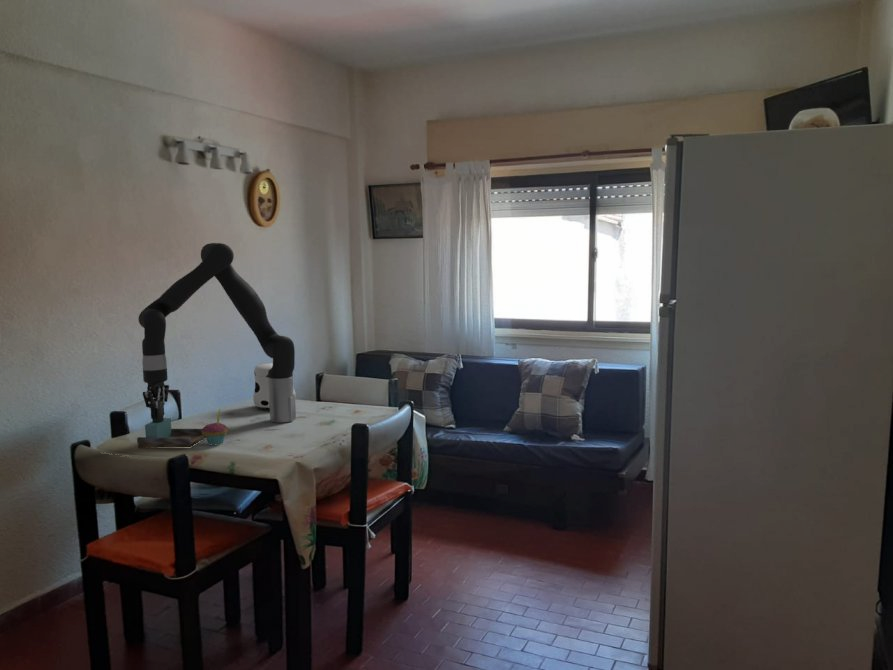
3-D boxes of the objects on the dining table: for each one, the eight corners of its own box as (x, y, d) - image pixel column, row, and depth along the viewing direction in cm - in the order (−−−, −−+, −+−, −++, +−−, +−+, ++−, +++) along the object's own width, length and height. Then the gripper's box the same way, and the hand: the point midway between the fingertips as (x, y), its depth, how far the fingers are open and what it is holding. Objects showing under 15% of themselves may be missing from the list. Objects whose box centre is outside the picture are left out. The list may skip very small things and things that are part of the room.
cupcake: (230, 439, 230) (228, 406, 229) (226, 446, 222) (224, 411, 220) (204, 441, 229) (202, 407, 227) (199, 447, 220) (197, 412, 219)
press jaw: (171, 434, 231) (169, 398, 230) (157, 442, 221) (155, 404, 220) (160, 434, 231) (158, 398, 230) (146, 442, 221) (143, 404, 220)
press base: (206, 438, 232) (205, 428, 231) (190, 448, 219) (189, 438, 219) (156, 438, 233) (155, 428, 233) (137, 448, 220) (137, 438, 220)
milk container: (291, 412, 271) (289, 368, 269) (248, 412, 271) (246, 369, 269) (299, 402, 288) (298, 362, 286) (260, 403, 288) (258, 362, 286)
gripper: (155, 371, 216) (158, 422, 218) (175, 364, 230) (178, 412, 232) (133, 371, 217) (136, 422, 219) (154, 364, 231) (157, 412, 233)
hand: (157, 416), depth 225 cm, fingers closed on press jaw, 3 cm apart
